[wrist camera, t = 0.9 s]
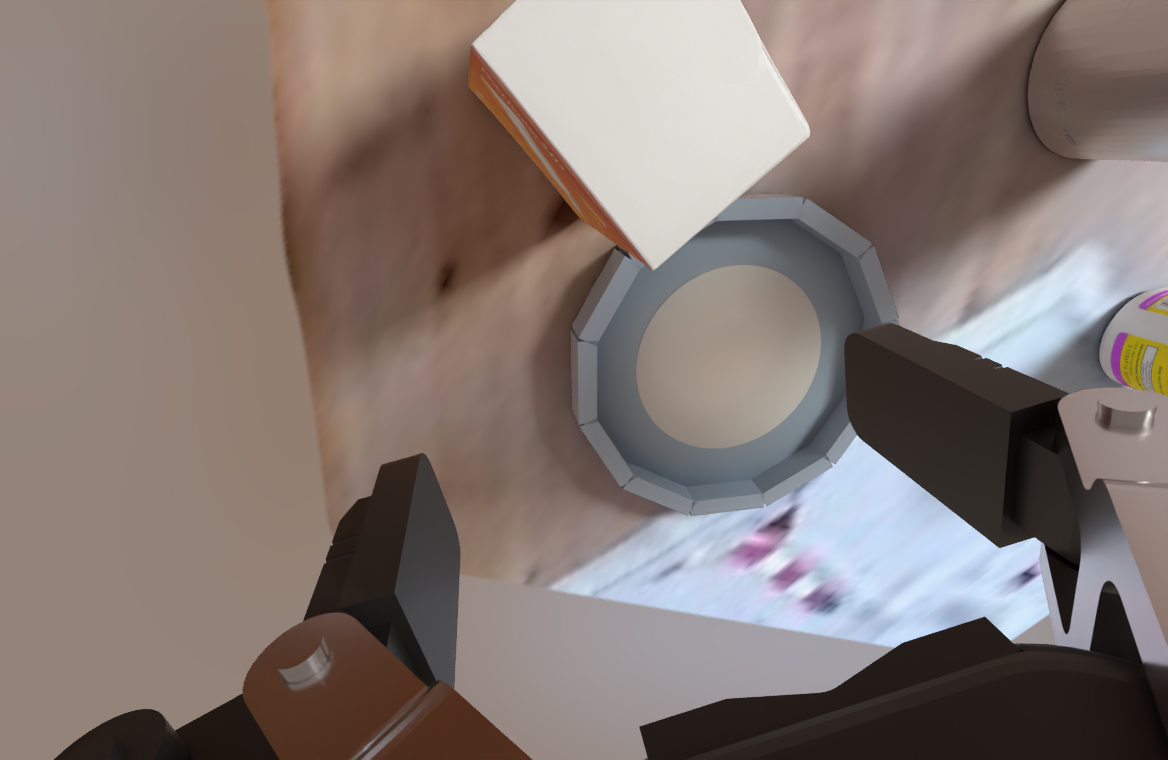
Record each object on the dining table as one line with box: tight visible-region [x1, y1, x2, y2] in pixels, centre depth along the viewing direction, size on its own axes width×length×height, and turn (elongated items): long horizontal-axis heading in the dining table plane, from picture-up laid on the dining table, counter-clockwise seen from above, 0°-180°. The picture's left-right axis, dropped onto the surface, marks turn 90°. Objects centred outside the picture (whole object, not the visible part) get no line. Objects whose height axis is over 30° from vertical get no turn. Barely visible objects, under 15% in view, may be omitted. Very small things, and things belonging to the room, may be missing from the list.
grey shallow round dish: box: [571, 194, 899, 516], centre depth 33 cm, size 18×18×2 cm
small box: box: [468, 0, 810, 271], centre depth 22 cm, size 8×6×13 cm
